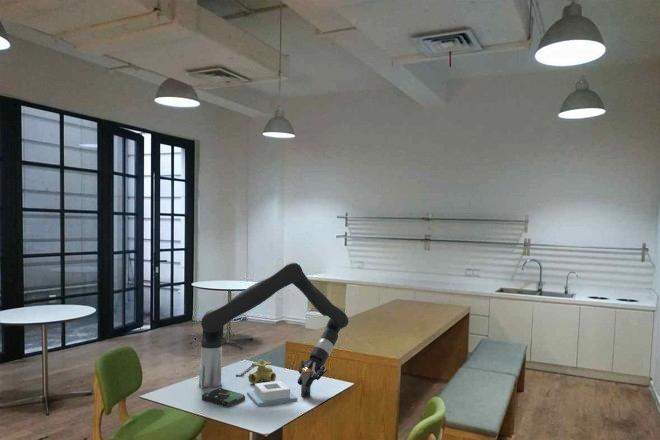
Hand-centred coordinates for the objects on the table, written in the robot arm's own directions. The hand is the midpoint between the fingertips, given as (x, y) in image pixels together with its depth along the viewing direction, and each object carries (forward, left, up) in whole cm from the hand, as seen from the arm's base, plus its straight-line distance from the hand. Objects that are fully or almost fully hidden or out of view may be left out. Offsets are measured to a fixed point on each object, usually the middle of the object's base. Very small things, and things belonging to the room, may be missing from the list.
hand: (303, 385), depth 195 cm
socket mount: (-12, +5, -5) cm, 14 cm away
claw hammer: (-10, +44, -6) cm, 46 cm away
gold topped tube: (+2, +1, -5) cm, 5 cm away
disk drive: (-31, +10, -6) cm, 33 cm away
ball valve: (-9, +26, -6) cm, 28 cm away
